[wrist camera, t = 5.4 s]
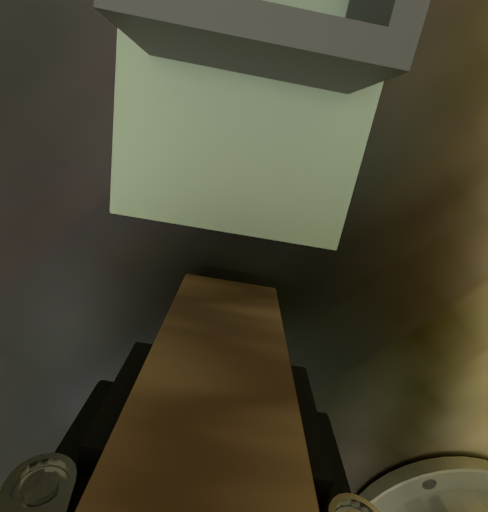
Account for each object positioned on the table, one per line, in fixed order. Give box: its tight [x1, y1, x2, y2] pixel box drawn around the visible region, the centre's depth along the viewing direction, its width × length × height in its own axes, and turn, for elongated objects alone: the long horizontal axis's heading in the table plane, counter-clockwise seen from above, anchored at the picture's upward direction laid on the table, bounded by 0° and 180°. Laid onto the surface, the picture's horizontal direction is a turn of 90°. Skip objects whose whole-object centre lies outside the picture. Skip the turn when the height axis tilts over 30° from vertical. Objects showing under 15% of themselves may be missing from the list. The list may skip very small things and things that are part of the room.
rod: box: [75, 274, 319, 512], centre depth 9 cm, size 4×4×14 cm
